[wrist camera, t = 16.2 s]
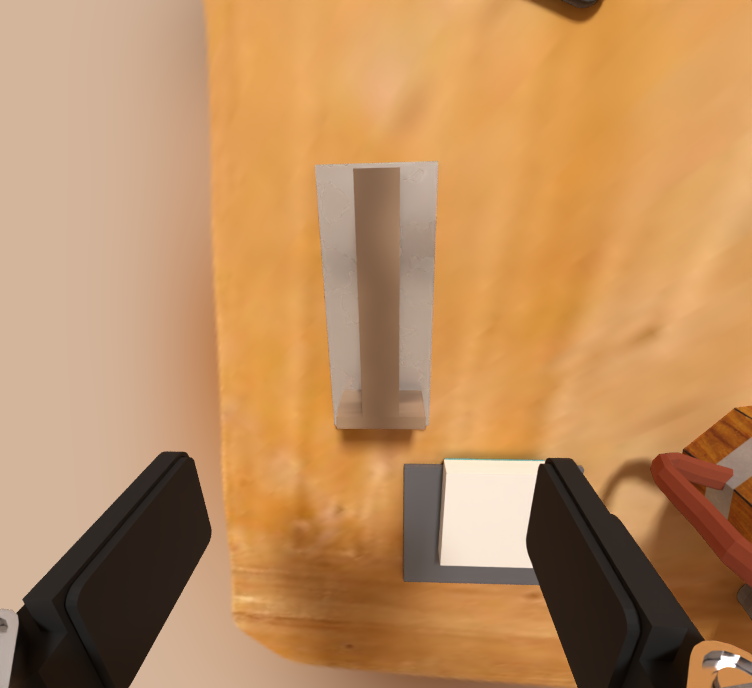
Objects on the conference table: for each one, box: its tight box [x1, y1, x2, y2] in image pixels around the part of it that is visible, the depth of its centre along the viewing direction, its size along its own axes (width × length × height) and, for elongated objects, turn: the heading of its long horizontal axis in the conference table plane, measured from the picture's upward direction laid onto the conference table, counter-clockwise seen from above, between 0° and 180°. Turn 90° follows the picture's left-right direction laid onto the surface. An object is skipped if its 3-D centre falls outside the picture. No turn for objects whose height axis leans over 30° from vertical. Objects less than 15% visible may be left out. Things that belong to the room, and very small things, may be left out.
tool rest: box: [315, 161, 438, 426], centre depth 28 cm, size 8×20×1 cm, turn 1°
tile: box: [438, 459, 545, 568], centre depth 33 cm, size 9×2×11 cm
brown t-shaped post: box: [336, 167, 426, 429], centre depth 25 cm, size 6×17×4 cm, turn 1°
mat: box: [404, 464, 584, 585], centre depth 36 cm, size 16×15×1 cm
